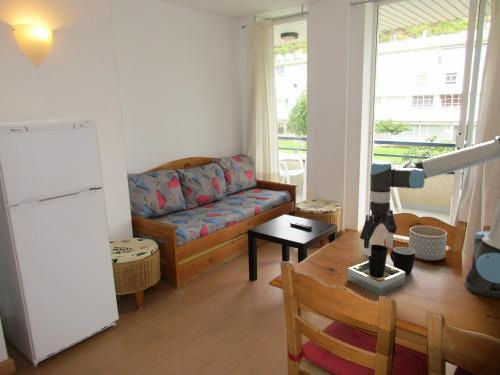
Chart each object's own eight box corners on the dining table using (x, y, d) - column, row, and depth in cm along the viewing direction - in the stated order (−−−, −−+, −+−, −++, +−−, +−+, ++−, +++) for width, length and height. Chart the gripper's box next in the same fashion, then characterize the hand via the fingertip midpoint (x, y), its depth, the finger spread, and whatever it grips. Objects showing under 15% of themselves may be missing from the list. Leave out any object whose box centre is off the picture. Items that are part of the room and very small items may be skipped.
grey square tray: (404, 284, 152) (405, 271, 150) (379, 295, 143) (380, 282, 142) (372, 270, 165) (373, 259, 164) (347, 280, 156) (348, 268, 155)
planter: (423, 264, 170) (425, 238, 168) (400, 251, 186) (402, 227, 183) (452, 260, 174) (455, 234, 172) (428, 247, 190) (430, 224, 187)
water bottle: (362, 247, 193) (365, 195, 187) (379, 246, 194) (382, 194, 188) (371, 254, 183) (374, 200, 177) (388, 253, 184) (391, 199, 178)
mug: (418, 274, 160) (419, 252, 158) (402, 277, 157) (403, 255, 155) (398, 263, 171) (399, 243, 169) (382, 267, 168) (383, 246, 166)
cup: (375, 280, 148) (377, 252, 146) (363, 273, 155) (364, 246, 153) (390, 276, 151) (391, 249, 149) (377, 269, 158) (378, 243, 156)
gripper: (391, 194, 156) (389, 241, 161) (351, 204, 143) (350, 255, 147) (407, 197, 150) (405, 246, 154) (366, 208, 137) (365, 261, 141)
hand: (378, 251), depth 151 cm, fingers open, 13 cm apart
